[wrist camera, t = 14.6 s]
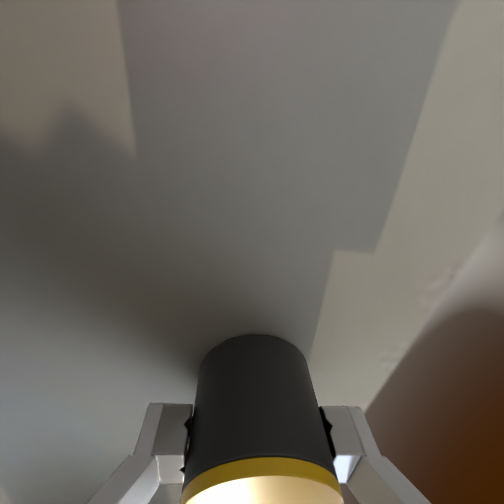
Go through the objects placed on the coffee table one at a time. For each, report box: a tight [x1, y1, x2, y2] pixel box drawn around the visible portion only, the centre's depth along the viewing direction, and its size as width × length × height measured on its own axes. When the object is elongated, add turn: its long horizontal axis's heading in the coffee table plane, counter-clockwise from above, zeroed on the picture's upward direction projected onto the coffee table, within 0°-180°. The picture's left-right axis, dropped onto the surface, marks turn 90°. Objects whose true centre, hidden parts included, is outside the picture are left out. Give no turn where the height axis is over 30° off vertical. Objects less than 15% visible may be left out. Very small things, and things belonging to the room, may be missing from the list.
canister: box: [180, 335, 344, 504], centre depth 10 cm, size 5×5×5 cm
